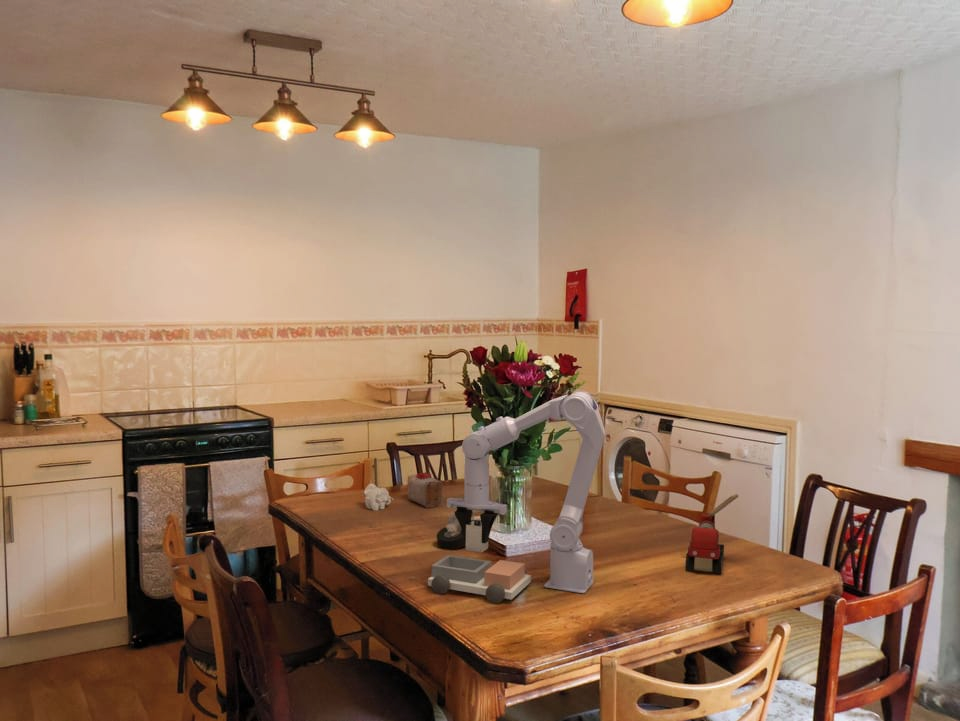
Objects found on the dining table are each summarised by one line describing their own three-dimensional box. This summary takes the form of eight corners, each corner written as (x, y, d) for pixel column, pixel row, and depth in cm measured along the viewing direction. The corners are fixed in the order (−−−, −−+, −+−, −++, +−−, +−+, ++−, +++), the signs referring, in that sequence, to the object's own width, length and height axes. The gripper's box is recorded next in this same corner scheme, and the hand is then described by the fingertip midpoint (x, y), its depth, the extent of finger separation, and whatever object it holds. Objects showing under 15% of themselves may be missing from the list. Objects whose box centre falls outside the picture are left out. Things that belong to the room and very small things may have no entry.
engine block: (488, 548, 191) (488, 519, 191) (481, 552, 188) (481, 523, 187) (472, 545, 193) (473, 517, 192) (465, 550, 189) (466, 521, 189)
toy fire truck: (684, 573, 194) (686, 500, 192) (690, 553, 209) (692, 486, 207) (734, 579, 190) (736, 504, 189) (736, 559, 205) (739, 490, 203)
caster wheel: (443, 560, 209) (434, 543, 219) (486, 548, 212) (475, 531, 222) (439, 536, 208) (430, 520, 217) (482, 524, 210) (471, 508, 220)
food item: (403, 499, 261) (403, 469, 260) (425, 496, 265) (425, 467, 265) (424, 509, 250) (424, 477, 249) (446, 506, 254) (446, 474, 253)
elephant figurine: (398, 508, 251) (398, 485, 250) (371, 513, 245) (371, 489, 244) (384, 503, 257) (384, 480, 256) (358, 508, 250) (358, 485, 250)
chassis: (532, 584, 185) (533, 560, 185) (509, 606, 172) (509, 580, 172) (453, 571, 193) (453, 549, 193) (425, 591, 180) (425, 567, 180)
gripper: (512, 483, 189) (511, 540, 190) (456, 476, 195) (455, 532, 196) (500, 489, 183) (499, 548, 184) (442, 482, 189) (442, 540, 190)
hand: (476, 540), depth 190 cm, fingers closed on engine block, 4 cm apart
